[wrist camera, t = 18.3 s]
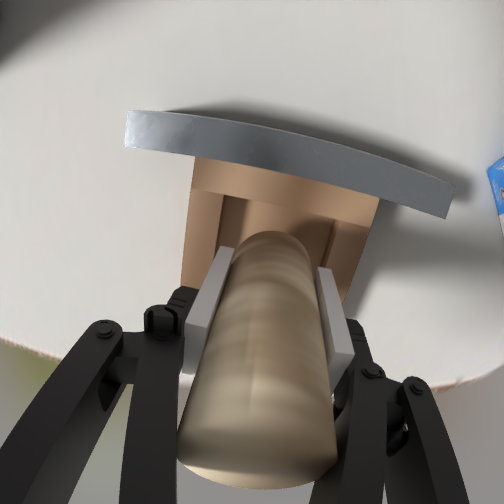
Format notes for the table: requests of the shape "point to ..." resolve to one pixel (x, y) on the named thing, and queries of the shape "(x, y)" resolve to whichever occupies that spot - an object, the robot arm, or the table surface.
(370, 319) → the table surface
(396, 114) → the table surface
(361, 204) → the wooden square tray
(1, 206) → the table surface
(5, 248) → the table surface
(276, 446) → the dowel
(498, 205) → the ink box
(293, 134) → the backstop rail
